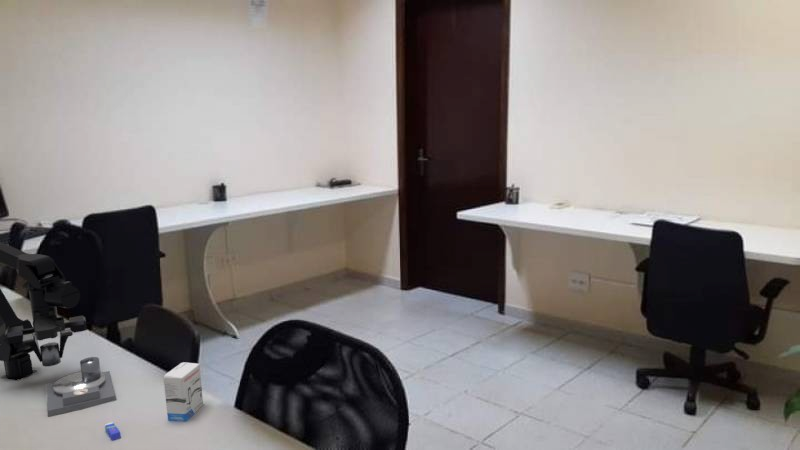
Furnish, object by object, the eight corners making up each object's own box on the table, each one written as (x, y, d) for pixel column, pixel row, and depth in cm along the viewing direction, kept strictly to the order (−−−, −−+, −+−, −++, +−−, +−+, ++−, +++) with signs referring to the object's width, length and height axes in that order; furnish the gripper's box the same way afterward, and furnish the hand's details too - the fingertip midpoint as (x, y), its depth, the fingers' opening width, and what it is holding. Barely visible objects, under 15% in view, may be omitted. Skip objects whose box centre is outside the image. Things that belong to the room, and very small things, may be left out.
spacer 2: (91, 373, 164) (89, 355, 163) (104, 375, 163) (102, 357, 162) (78, 380, 160) (76, 362, 159) (91, 382, 159) (89, 364, 158)
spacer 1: (38, 365, 165) (35, 348, 164) (50, 359, 169) (48, 341, 168) (52, 366, 164) (50, 348, 163) (64, 360, 168) (62, 342, 167)
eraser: (114, 428, 143) (113, 420, 142) (121, 439, 138) (120, 431, 138) (105, 431, 142) (104, 423, 141) (111, 442, 137) (110, 434, 136)
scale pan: (53, 382, 163) (52, 377, 163) (103, 372, 169) (102, 367, 168) (54, 401, 153) (53, 395, 152) (107, 389, 158) (106, 384, 158)
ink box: (186, 425, 143) (181, 378, 141) (166, 423, 144) (162, 376, 142) (204, 407, 152) (200, 362, 149) (186, 405, 153) (182, 361, 150)
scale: (47, 389, 163) (45, 375, 162) (110, 375, 170) (108, 363, 169) (48, 416, 148) (46, 402, 148) (116, 401, 156) (114, 387, 155)
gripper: (0, 319, 152) (9, 378, 155) (84, 306, 161) (91, 362, 164) (2, 307, 162) (11, 363, 165) (82, 295, 171) (88, 348, 174)
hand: (51, 359), depth 167 cm, fingers closed on spacer 1, 4 cm apart
